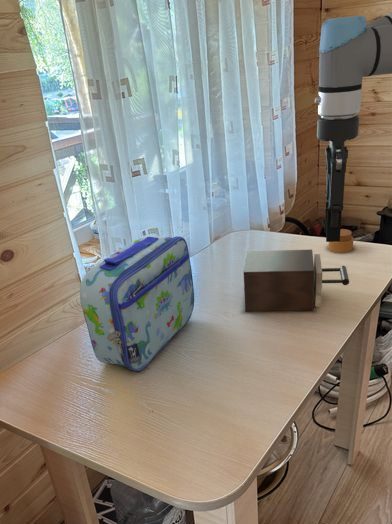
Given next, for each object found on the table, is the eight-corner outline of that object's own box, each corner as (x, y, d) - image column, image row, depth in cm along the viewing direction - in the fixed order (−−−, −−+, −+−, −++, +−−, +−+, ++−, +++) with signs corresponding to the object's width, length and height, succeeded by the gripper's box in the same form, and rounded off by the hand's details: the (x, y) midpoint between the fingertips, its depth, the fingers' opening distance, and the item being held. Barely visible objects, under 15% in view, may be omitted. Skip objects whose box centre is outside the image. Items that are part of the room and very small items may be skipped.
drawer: (344, 285, 118) (346, 253, 114) (348, 306, 110) (351, 272, 106) (260, 286, 122) (259, 255, 118) (258, 307, 113) (257, 274, 109)
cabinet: (310, 288, 121) (312, 249, 116) (312, 311, 111) (314, 270, 106) (248, 289, 123) (247, 251, 118) (245, 312, 114) (243, 272, 109)
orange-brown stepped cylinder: (351, 243, 141) (352, 227, 139) (354, 252, 136) (355, 236, 134) (327, 244, 142) (328, 228, 140) (329, 253, 137) (330, 237, 135)
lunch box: (134, 384, 94) (115, 279, 83) (89, 371, 99) (65, 271, 88) (203, 318, 113) (194, 226, 102) (162, 310, 118) (149, 221, 107)
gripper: (315, 110, 103) (312, 223, 115) (319, 125, 88) (315, 253, 101) (354, 107, 102) (346, 221, 114) (365, 122, 87) (355, 252, 100)
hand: (332, 236), depth 107 cm, fingers open, 4 cm apart
